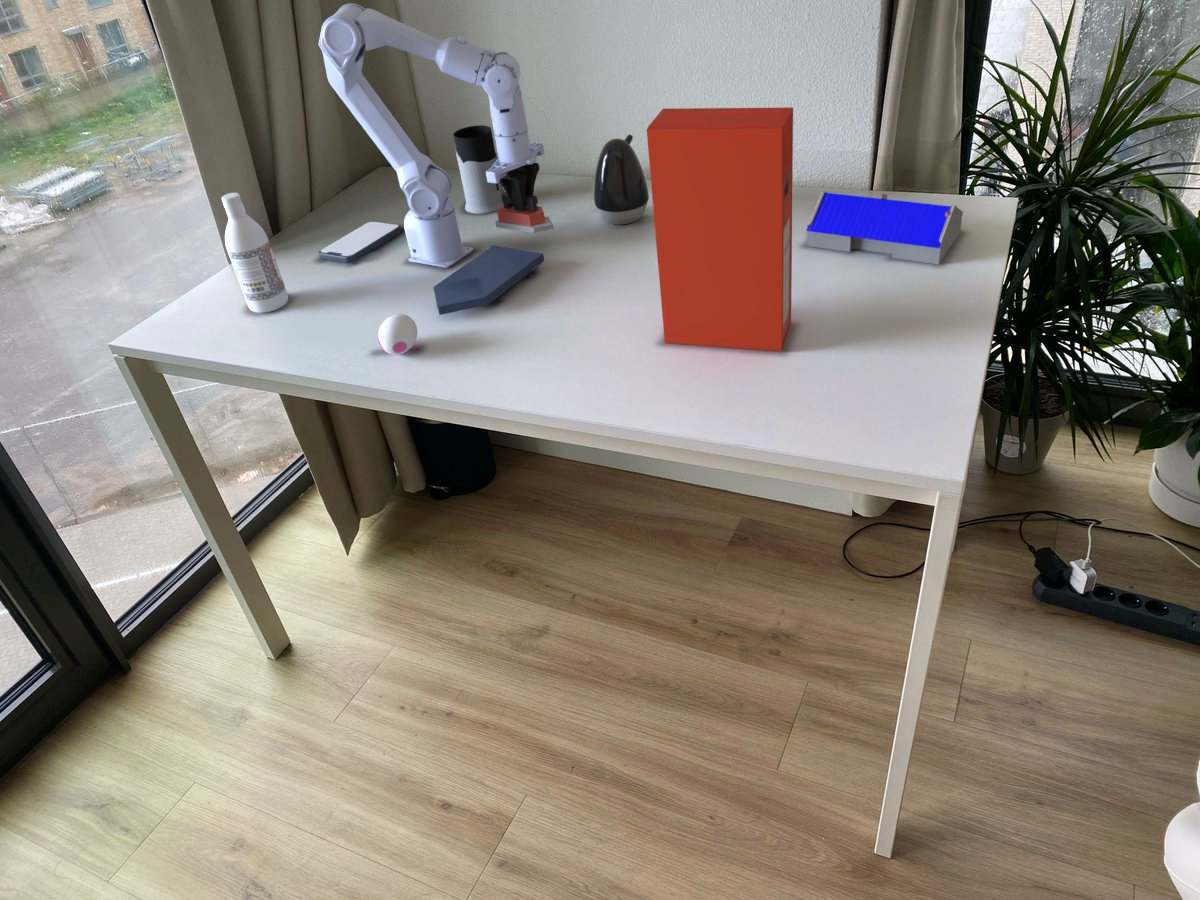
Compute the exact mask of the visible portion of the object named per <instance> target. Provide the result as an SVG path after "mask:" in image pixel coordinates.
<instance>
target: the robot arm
mask: <svg viewBox="0 0 1200 900" xmlns="http://www.w3.org/2000/svg"><path fill="white" fill-rule="evenodd" d="M467 41H468V38H467V37H466V36H463V35H458V37H455V36H449V37H447V38H445V39H443V40H441V39H439V38H437V37H434V36H433V35H430V34H427V33H425V32H423V31H421V30H419V29H417V28H414V27H412V26H410V25H407V24H405V23H403V22H401V21H399V20H396V19H395V18H392V17H390V16H388V15H385V14H383V13H382V12H380V11H378V10H376V9H374V8H369V7H366V8H365V7H364V6H362V5H359V4H357V3H351V2H350V3H346V4H343V5H342V6H340V7H339V8H338V10H337V11H336V12H335V13H334V14H333V15H331V16H329V17H327V18H326V19H325V21H323V23H322V25H321V30H320V35H319V40H318V47H319V48H320V50H321V52H322V58H323V62H324V67H325V72H326V77H327V81H328V83H329V85H330V86H331V88H333V90H334V91H335V93H336V94H337V95H338V97H339V98H340V99H341V101H342V102H343V103H344V105H345V106H346V108H347V109H348V110H349V111H350V113H351V114H352V115H353V117H354V118H355V119H356V120H357V122H358V123H359V124H360V126H361V127H362V128H363V130H364V131H365V133H366V134H367V136H369V137H370V139H371V140H372V141H373V143H374V144H375V146H376V147H377V149H378V150H379V151H380V152H381V154H382V155H383V156H384V158H385V159H386V160H387V162H388V163H389V165H391V167H392V168H393V169H394V171H395V172H396V175H397V179H398V183H399V187H400V189H401V190H402V192H403V193H404V195H405V197H406V201H407V205H408V207H409V210H408V211H407V213H406V214H405V216H404V222H403V229H404V233H405V238H406V241H407V245H408V249H409V253H410V257H409V258H408V262H411V263H417V264H422V265H427V266H434V267H439V268H445V269H448V268H450V267H451V266H453V265H454V264H456V263H458V262H459V261H460V260H462V259H463V258H465V257H466V256H468V255H469V254H471V253H472V252H473V251H474V248H473V247H471V246H464V245H463V243H462V238H461V233H460V230H459V224H458V219H457V216H456V209H455V207H454V206H455V205H454V203H453V201H451V200H450V198H449V194H450V192H451V189H452V180H451V177H450V175H449V174H448V173H447V172H446V171H445V170H444V169H443V168H442V167H439V166H437V164H435V163H434V162H433V160H432V159H431V158H430V157H429V156H427V155H425V154H423V153H421V151H420V150H419V149H418V148H417V147H416V145H415V144H414V143H413V141H412V140H411V138H410V137H409V136H408V134H407V133H406V132H405V130H404V129H403V128H402V126H401V125H400V123H399V122H398V121H397V119H396V118H395V117H394V116H393V114H392V112H391V111H390V110H389V108H388V107H387V106H386V105H385V103H384V102H383V100H382V99H381V98H380V96H379V95H378V94H377V92H376V91H375V89H374V88H373V87H372V86H371V84H370V82H368V79H366V77H365V76H364V75H363V72H362V71H363V64H364V57H365V51H366V52H368V51H372V50H375V49H378V48H382V47H385V46H389V47H391V48H395V49H398V50H400V51H403V52H407V53H409V54H412V55H415V56H417V57H418V56H419V57H422V58H425V59H427V60H431V61H433V62H435V63H436V65H437V67H438V68H439V70H440V72H441V73H443V74H446V75H448V76H451V77H453V78H456V79H458V80H460V81H464V82H466V83H469V84H472V85H474V86H477V87H482V89H483V90H484V92H485V94H487V95H488V102H489V113H490V117H491V123H492V129H493V134H494V135H493V137H494V142H495V147H496V152H497V153H496V154H497V157H498V159H497V160H496V161H495V163H494V164H493V165H492V167H491V168H490V169H489V170H487V171H486V176H487V182H489V183H498V182H499V183H500V184H501V185H502V187H503V189H505V192H507V194H508V196H509V198H510V200H511V203H512V205H513V207H514V209H515V210H518V211H525V210H526V206H528V205H526V198H525V194H528V195H534V191H535V183H536V180H537V176H538V173H539V171H540V169H541V168H540V164H539V163H538V160H537V159H538V158H537V157H538V156H543V155H545V147H544V143H543V142H535V141H534V142H532V143H530V136H529V130H528V124H527V116H526V111H525V104H524V100H523V98H522V97H523V95H522V90H521V85H520V84H519V81H520V79H521V67H520V63H519V62H518V60H516V58H515V57H514V56H513V55H511V54H509V53H508V52H507V51H497V52H496V49H493V48H491V47H490V48H489V49H488V50H487V49H485V48H483V47H480V46H477V45H475V44H473V43H471V42H467Z"/></svg>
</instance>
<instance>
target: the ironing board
mask: <svg viewBox="0 0 1200 900" xmlns="http://www.w3.org/2000/svg"><path fill="white" fill-rule="evenodd" d="M544 262H545V254H544V252H538V251H533V250H527V249H522V248H521V249H520V248H514V247H507V246H501V245H494V244H493V245H491V246H490V247H488V248H487V249H485V250H484V251H482V252H481V253H480V254H478V255H477V256H475V257H474V258H472V259H471V260H470V261H468V262H466V263H465V264H464V265H462V266H460V267H459V268H458V269H457V270H455V271H454V272H452V273H451V274H449V275H448V276H447V277H445V278H444V279H442V280H441V281H439V282H438V283H437V284H435V285H434V286H433V287H432V289H433V292H434V297H435V302H436V307H437V311H438V315H439V316H443V315H446V314H447V315H448V314H451V313H457V312H460V311H465V310H466V311H467V310H470V309H475V308H479V307H484V306H488V305H489V306H494V305H495V304H496V303H497V298H499V296H501V295H502V294H503V293H504V292H506V291H507V290H508V289H510V288H511V287H512V286H514V285H516V283H518V282H519V281H520V280H521V279H523V278H524V277H528V278H529V277H532V276H533V275H534V270H535V269H536V268H537V267H539V266H540V265H542V264H543V263H544Z"/></svg>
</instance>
